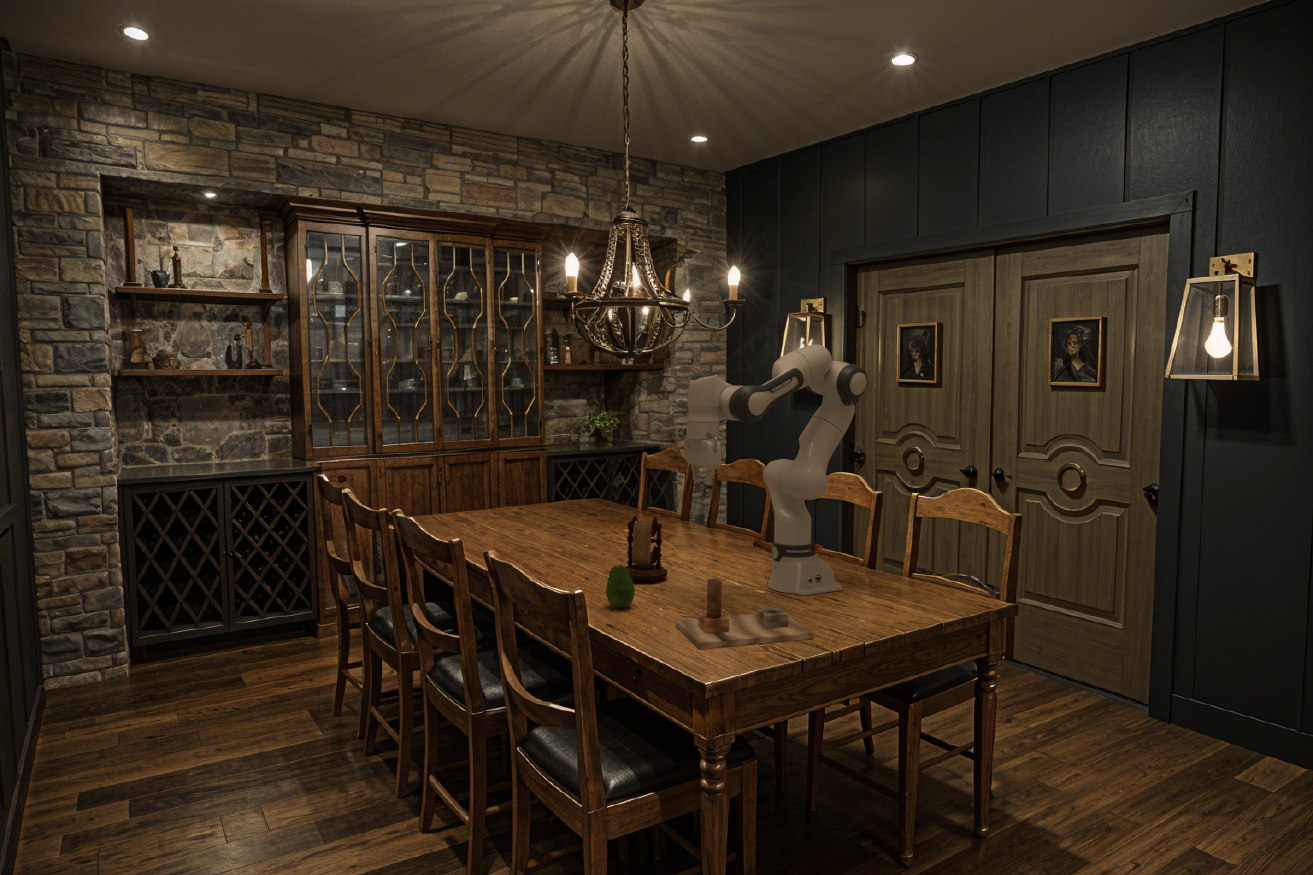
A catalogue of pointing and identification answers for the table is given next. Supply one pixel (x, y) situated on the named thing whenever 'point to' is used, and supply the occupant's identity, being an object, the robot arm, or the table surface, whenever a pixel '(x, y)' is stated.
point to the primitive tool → (762, 545)
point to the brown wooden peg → (714, 598)
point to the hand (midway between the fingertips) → (702, 482)
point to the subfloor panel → (743, 629)
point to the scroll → (644, 550)
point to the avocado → (620, 587)
